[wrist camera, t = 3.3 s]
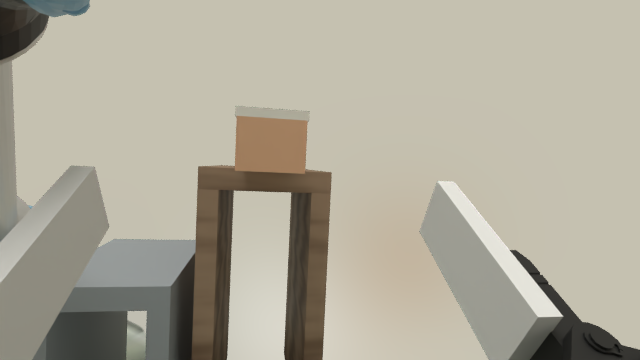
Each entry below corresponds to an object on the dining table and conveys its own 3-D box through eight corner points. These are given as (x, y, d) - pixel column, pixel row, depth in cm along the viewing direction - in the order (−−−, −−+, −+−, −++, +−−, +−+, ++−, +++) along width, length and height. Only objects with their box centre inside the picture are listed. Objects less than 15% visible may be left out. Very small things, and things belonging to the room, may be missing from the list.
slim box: (306, 173, 23) (309, 111, 23) (233, 170, 22) (235, 105, 22) (281, 168, 48) (282, 139, 48) (246, 166, 48) (248, 137, 47)
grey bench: (164, 495, 30) (170, 286, 29) (17, 511, 28) (21, 287, 28) (199, 372, 48) (203, 240, 47) (110, 377, 46) (114, 239, 45)
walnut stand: (317, 461, 34) (331, 172, 33) (187, 473, 32) (198, 166, 31) (296, 352, 54) (304, 169, 53) (214, 356, 52) (221, 165, 51)
